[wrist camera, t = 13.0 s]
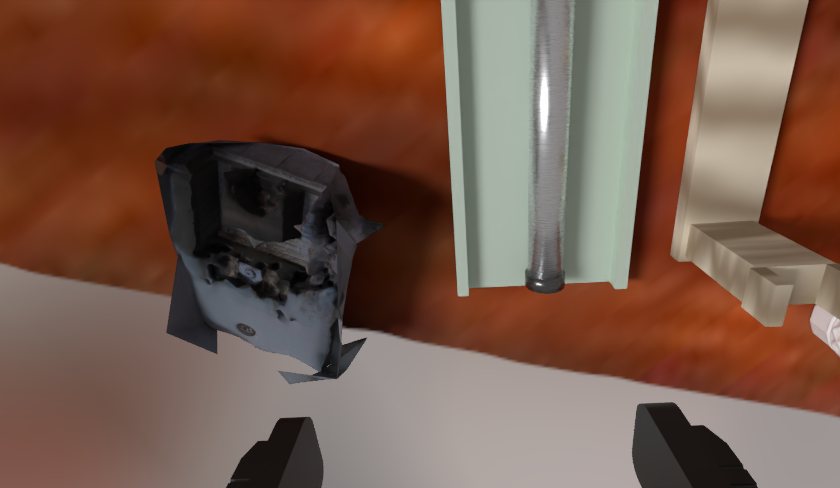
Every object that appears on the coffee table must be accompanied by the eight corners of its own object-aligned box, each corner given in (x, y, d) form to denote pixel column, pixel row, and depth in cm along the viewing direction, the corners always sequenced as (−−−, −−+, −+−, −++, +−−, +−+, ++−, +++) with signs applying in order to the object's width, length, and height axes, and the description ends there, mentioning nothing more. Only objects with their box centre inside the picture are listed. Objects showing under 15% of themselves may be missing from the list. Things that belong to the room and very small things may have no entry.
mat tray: (435, -93, 31) (434, -105, 28) (657, -120, 29) (673, -134, 27) (457, 284, 42) (457, 296, 40) (617, 276, 41) (626, 288, 39)
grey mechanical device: (193, 309, 45) (136, 366, 37) (214, 118, 37) (148, 134, 29) (361, 356, 46) (343, 421, 38) (415, 180, 39) (407, 213, 30)
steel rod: (521, -90, 30) (538, -108, 26) (570, -93, 30) (593, -112, 27) (520, 277, 40) (532, 295, 37) (556, 273, 40) (570, 290, 37)
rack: (721, -92, 30) (896, -188, 18) (815, -102, 29) (1054, -209, 18) (670, 254, 40) (762, 333, 28) (739, 251, 39) (862, 329, 28)
